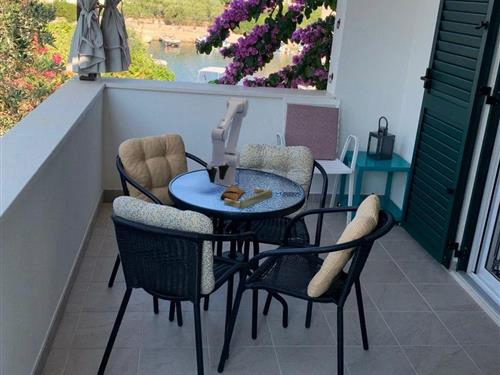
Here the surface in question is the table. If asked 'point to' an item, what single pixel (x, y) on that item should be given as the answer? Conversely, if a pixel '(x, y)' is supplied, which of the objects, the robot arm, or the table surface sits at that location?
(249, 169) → the table surface
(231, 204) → the dock
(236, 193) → the sunglasses case
